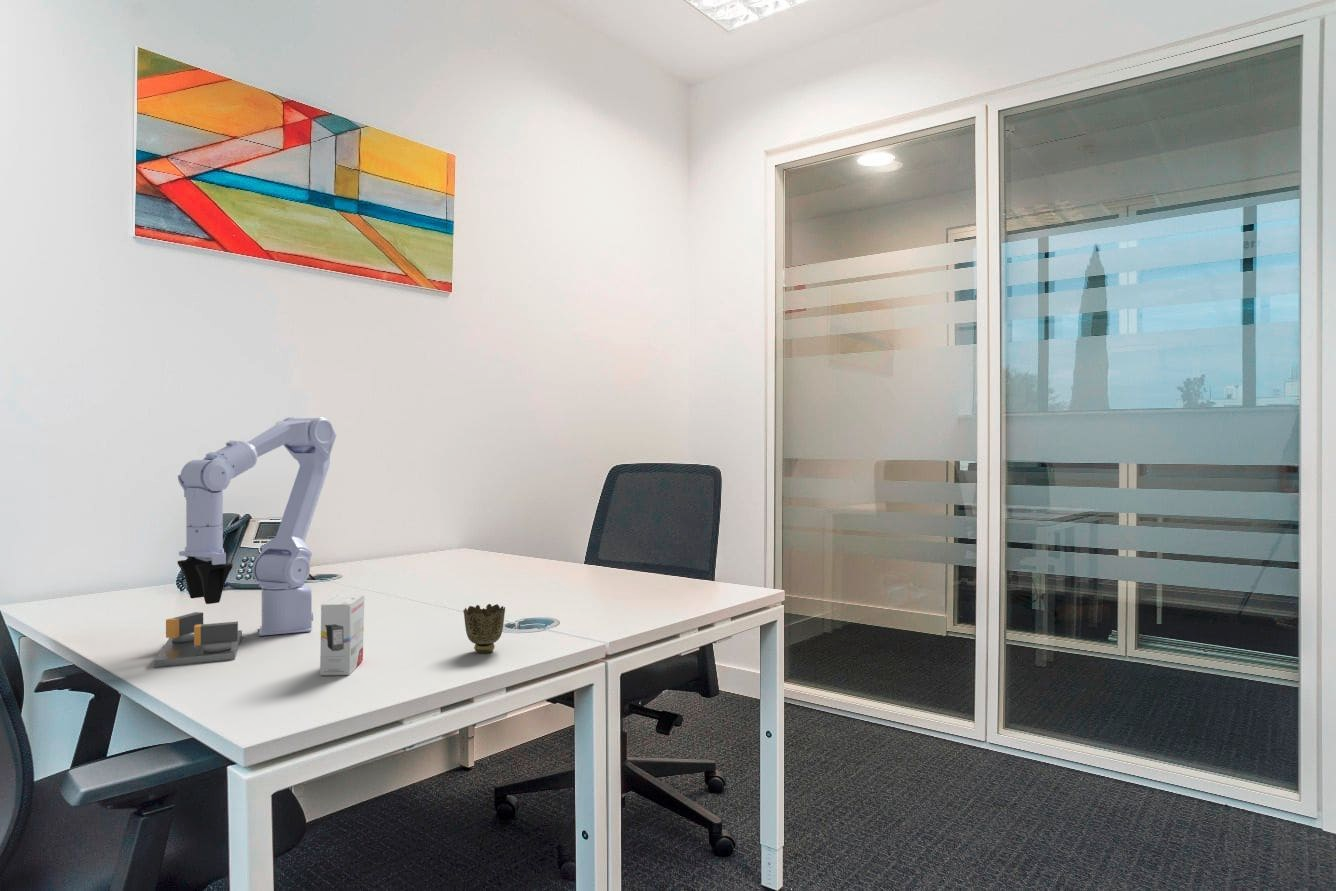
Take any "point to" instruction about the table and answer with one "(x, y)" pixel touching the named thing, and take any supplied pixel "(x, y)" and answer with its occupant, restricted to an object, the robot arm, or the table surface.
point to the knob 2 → (216, 636)
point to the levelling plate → (192, 653)
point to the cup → (484, 626)
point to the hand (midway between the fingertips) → (204, 600)
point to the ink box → (342, 634)
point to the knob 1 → (183, 627)
